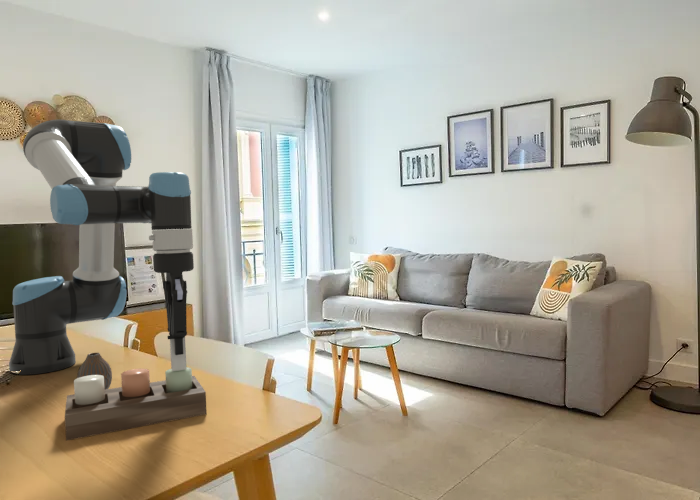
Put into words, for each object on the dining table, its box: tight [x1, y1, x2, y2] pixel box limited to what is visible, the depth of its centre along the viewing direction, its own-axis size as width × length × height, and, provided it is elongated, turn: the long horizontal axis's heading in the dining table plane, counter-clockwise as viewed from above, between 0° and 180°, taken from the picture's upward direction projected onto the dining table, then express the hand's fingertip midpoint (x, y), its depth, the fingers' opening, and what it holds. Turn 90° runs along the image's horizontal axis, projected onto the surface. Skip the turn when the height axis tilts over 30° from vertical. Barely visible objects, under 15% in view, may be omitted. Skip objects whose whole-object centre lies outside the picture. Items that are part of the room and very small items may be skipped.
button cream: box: [73, 375, 105, 405], centre depth 98 cm, size 5×5×4 cm
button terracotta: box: [120, 368, 151, 397], centre depth 101 cm, size 5×5×4 cm
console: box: [64, 375, 208, 441], centre depth 101 cm, size 12×24×4 cm, turn 117°
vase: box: [76, 352, 113, 390], centre depth 116 cm, size 7×7×9 cm
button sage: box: [164, 366, 193, 393], centre depth 105 cm, size 5×5×4 cm
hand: (179, 369), depth 104 cm, fingers closed
